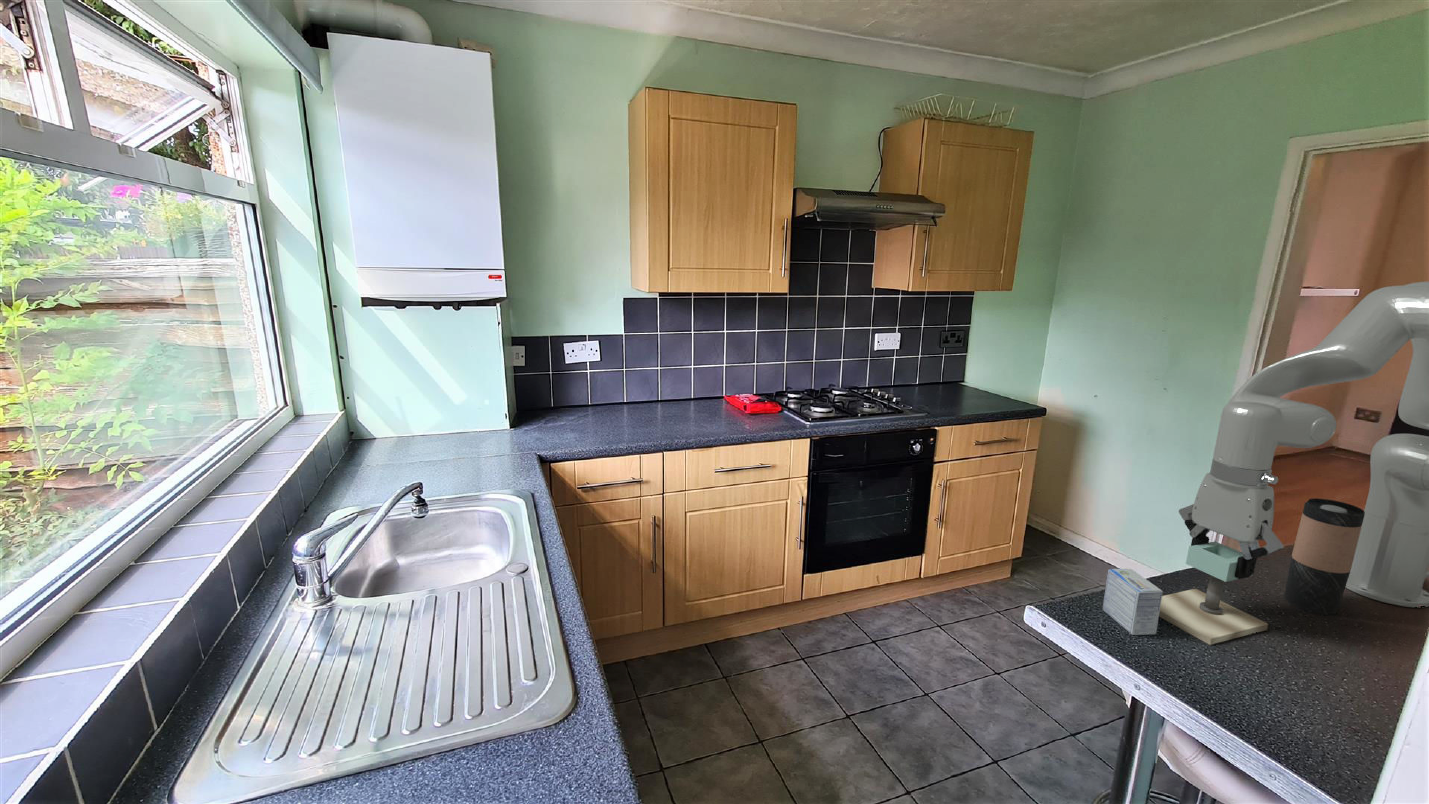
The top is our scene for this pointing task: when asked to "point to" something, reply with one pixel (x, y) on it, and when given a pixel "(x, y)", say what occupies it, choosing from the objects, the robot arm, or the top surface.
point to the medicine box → (1132, 601)
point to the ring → (1214, 560)
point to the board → (1208, 614)
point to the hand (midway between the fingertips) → (1219, 566)
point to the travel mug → (1323, 555)
